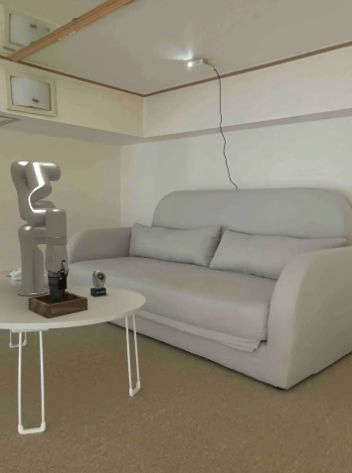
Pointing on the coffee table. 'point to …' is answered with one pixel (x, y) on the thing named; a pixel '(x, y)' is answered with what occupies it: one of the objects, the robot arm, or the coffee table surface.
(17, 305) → the coffee table surface
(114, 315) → the coffee table surface
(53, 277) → the beverage cup
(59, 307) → the walnut tray
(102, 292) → the watch
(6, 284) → the coffee table surface
